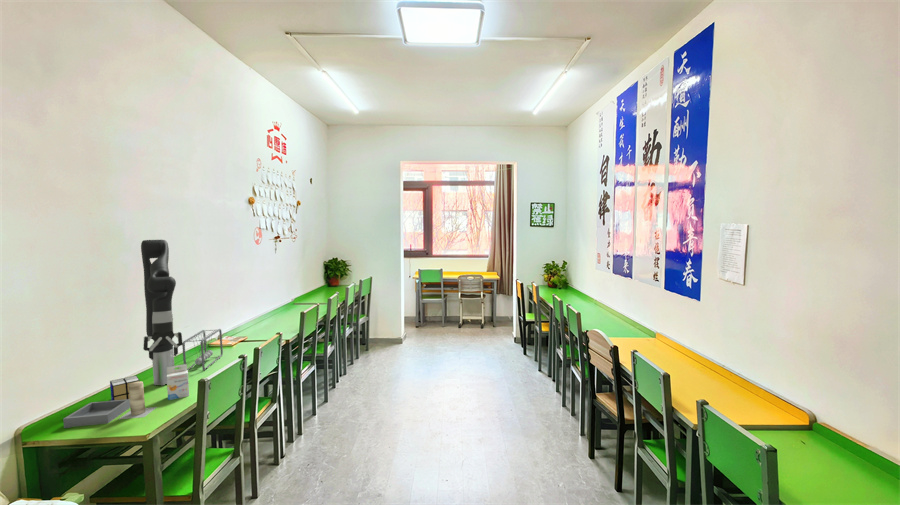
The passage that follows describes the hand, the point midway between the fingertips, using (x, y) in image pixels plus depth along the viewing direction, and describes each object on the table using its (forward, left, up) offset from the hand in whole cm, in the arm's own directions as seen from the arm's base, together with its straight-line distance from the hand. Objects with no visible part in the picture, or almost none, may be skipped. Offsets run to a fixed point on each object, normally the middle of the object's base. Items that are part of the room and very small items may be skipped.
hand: (163, 357), depth 185 cm
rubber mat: (+6, -8, -22) cm, 25 cm away
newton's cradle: (-62, -8, -23) cm, 66 cm away
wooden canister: (+6, -8, -22) cm, 24 cm away
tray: (+6, -23, -22) cm, 33 cm away
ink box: (-10, +1, -22) cm, 24 cm away
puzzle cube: (-11, -22, -23) cm, 34 cm away
